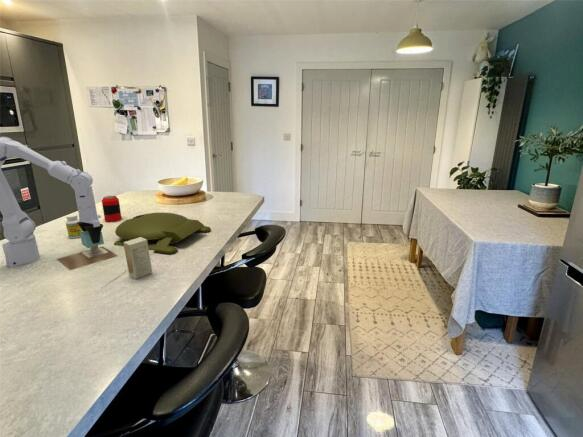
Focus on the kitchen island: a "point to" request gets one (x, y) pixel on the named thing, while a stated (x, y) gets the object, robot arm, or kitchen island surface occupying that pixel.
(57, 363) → the kitchen island surface
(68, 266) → the board
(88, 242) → the knob
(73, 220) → the supplement bottle
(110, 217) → the soda can
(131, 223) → the green turtle
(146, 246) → the skincare box
